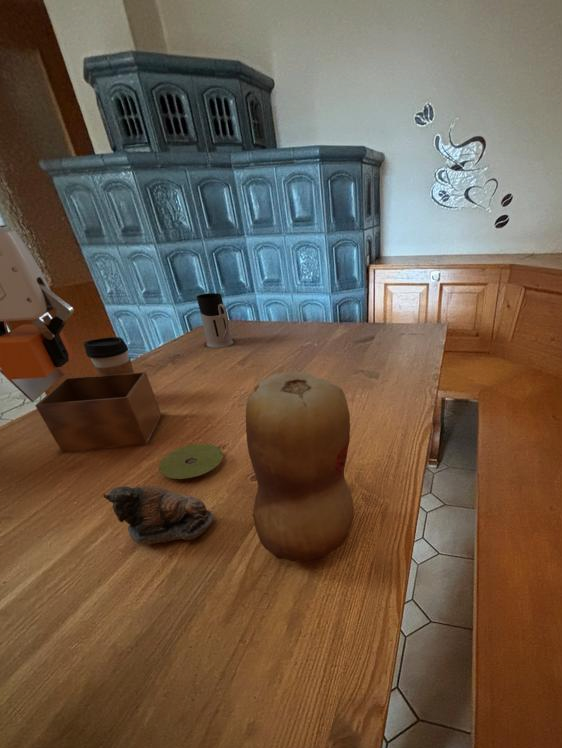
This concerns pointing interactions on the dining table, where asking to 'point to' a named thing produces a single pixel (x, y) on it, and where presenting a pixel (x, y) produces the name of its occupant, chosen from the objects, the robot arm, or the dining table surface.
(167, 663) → the dining table surface
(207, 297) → the glass holder
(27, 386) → the carton flap
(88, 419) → the carton
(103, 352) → the coffee cup
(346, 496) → the butternut squash
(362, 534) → the dining table surface
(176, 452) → the mat
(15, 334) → the block
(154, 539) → the bison figurine
